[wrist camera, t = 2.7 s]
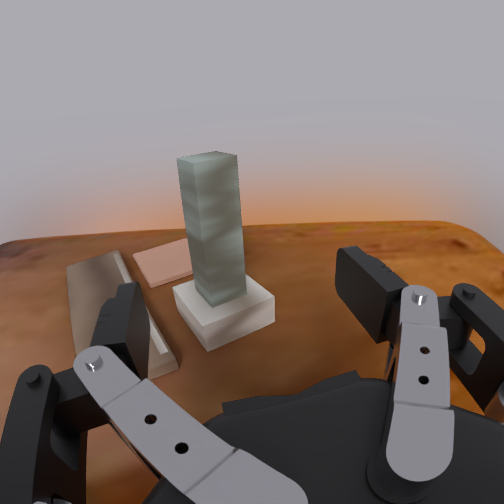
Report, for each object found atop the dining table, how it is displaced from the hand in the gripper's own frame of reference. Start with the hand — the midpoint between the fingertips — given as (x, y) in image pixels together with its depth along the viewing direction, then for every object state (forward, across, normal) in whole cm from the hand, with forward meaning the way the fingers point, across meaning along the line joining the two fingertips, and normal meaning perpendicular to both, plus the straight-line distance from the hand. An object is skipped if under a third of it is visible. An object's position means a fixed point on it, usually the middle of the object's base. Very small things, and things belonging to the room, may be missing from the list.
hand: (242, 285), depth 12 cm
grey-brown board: (+14, +11, +9) cm, 20 cm away
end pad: (+22, +4, +9) cm, 24 cm away
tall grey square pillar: (+11, 0, +9) cm, 14 cm away
